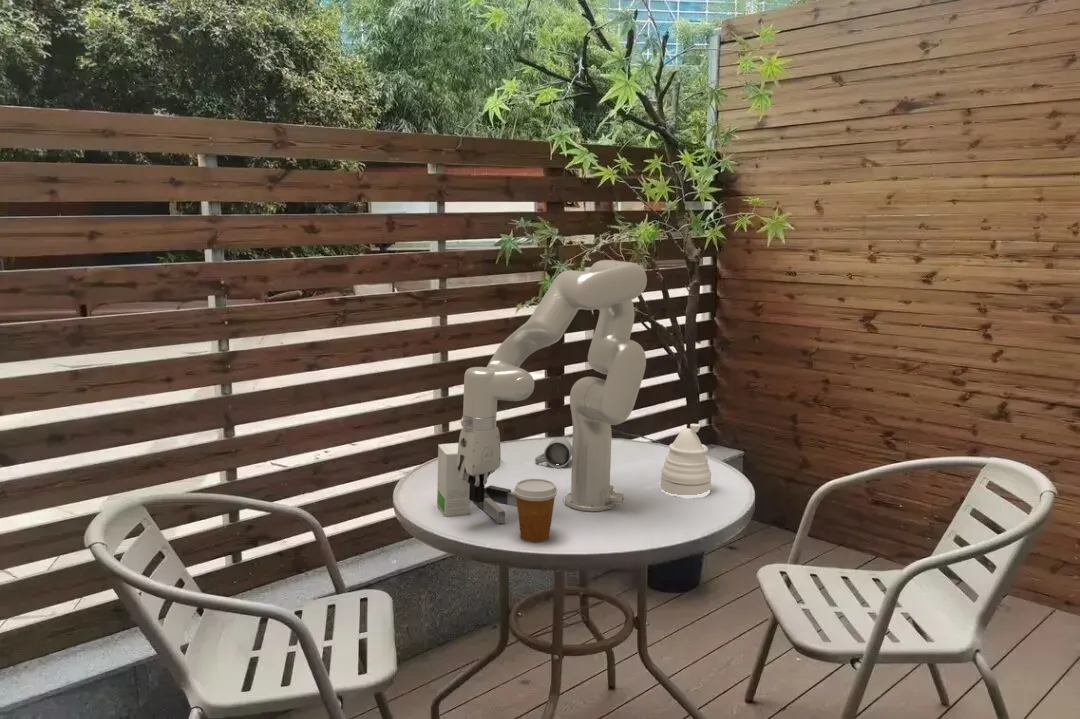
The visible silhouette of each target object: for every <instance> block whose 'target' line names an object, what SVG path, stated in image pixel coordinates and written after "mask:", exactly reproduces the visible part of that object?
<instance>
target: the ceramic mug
mask: <svg viewBox="0 0 1080 719" xmlns="http://www.w3.org/2000/svg"><path fill="white" fill-rule="evenodd" d="M571 459H572V444H571V442H570V440H568V439H566V437H565V438H564V437H556V438H554V439H552V440H551V441H550V442H549V443H548V445H547V446H546V447H545V448H544V452H542V454H540V455H538V456H536V457H535V458H534V461H535V463H536V464H537V465H539V464H542V463H546V464H547V465H548V466H550V467H552V468H554V467H555V468H554V469H562V468H564V467H566V466H567V465H568V464H569V463H570V461H571ZM556 464H559V465H556Z"/></svg>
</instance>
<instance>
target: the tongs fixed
mask: <svg viewBox="0 0 1080 719" xmlns="http://www.w3.org/2000/svg"><path fill="white" fill-rule="evenodd" d="M484 492H485V493H486V494H487V495H489V496H490V498H491V499H492V500H493V501H494V502H495V503H500V504H503V505H504V504H505V505H509V506H515V507H517V499H516V495H515V493H514V491H512V489H510V488H506V487H499V486H496V485H489V486H486V487H485V488H484Z"/></svg>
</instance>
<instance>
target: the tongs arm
mask: <svg viewBox="0 0 1080 719" xmlns="http://www.w3.org/2000/svg"><path fill="white" fill-rule="evenodd" d="M474 503H475V504H476V505H477V506H478V508H480V509H481V510H483V511H484V512H485V513H486V514H488V515H489V516H490V517H491V518H492V519H493V521H495V522H496V523H497V524H505V523H506V510H504V509H503V508H502V507H501V506H500V505H499V504H498V503H497V502H494V501H493V500H492V499H491V498H490V496H489V495H487V494H486V493H485V492H484V501H483V502H480V503H476V502H474Z"/></svg>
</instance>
